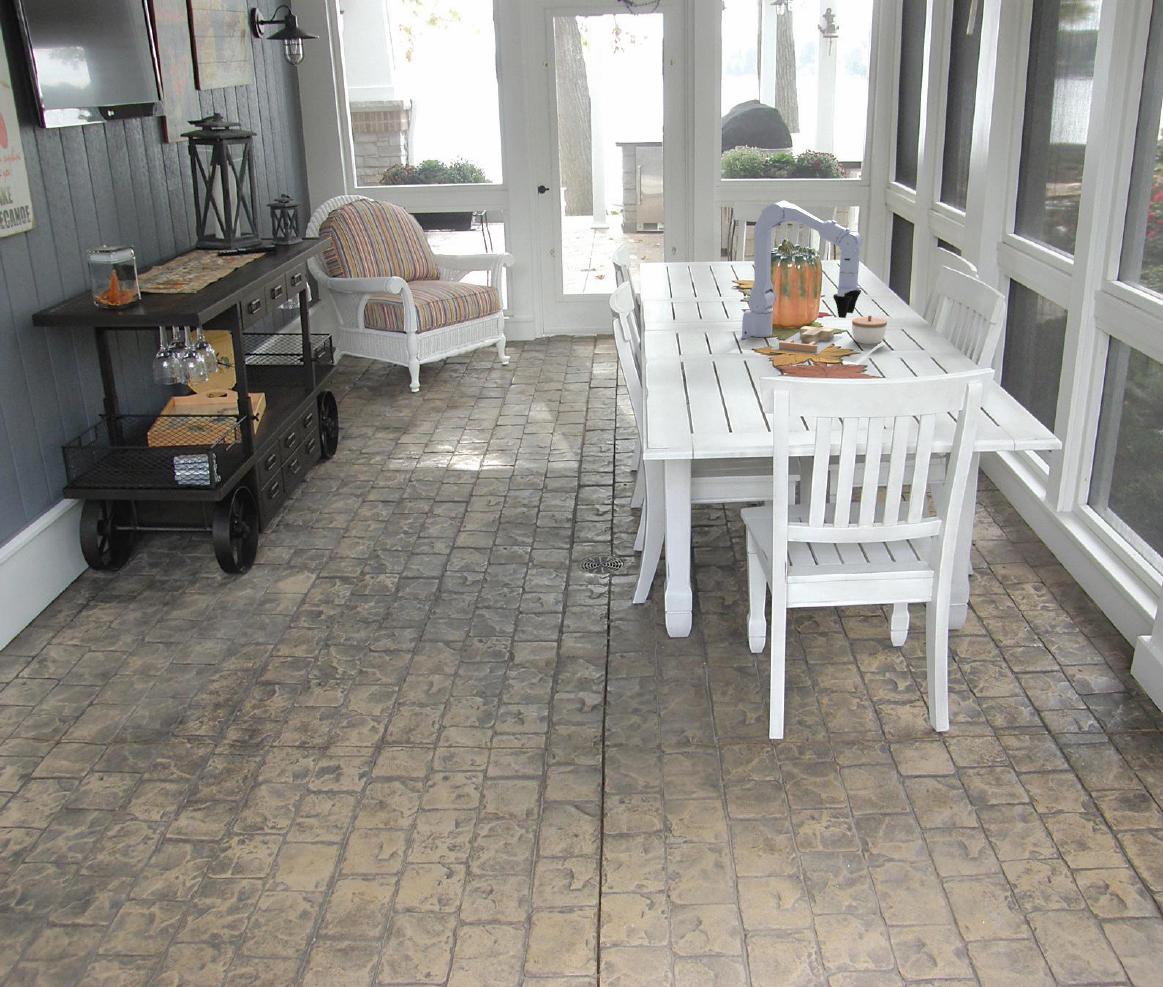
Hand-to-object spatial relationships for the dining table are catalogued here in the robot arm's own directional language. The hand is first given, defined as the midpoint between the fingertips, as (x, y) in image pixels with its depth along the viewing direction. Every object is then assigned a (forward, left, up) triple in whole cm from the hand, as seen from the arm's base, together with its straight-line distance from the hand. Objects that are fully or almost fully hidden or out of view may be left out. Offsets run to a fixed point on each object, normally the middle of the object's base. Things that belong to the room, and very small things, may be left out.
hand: (845, 315), depth 350 cm
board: (-10, -5, -10) cm, 15 cm away
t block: (-10, 0, -9) cm, 13 cm away
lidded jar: (+6, +6, -10) cm, 13 cm away
